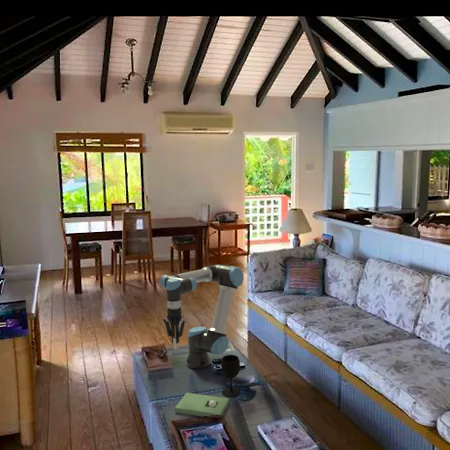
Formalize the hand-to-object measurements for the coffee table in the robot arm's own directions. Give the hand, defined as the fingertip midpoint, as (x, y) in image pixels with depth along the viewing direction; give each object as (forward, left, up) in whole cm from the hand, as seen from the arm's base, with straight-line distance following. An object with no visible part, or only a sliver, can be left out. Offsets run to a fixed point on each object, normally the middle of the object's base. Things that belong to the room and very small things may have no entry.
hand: (175, 348), depth 262 cm
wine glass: (-5, +30, -25) cm, 39 cm away
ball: (+14, +26, -22) cm, 36 cm away
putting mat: (+14, +20, -24) cm, 35 cm away
